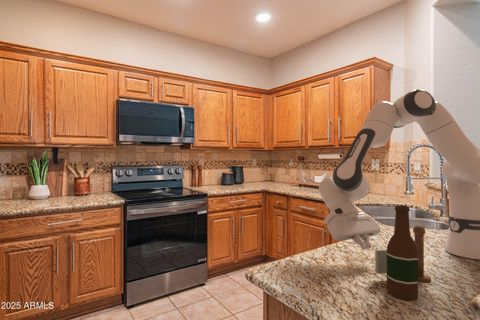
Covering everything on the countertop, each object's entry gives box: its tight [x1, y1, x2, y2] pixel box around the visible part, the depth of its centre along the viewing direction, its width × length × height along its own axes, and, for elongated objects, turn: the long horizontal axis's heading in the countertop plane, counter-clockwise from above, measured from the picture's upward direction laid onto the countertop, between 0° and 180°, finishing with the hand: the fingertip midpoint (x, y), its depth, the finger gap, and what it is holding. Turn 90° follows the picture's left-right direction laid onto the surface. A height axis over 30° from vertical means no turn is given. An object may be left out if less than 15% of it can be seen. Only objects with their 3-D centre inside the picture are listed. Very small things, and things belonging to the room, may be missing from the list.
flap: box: [374, 248, 387, 274], centre depth 84 cm, size 12×1×7 cm, turn 95°
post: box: [412, 225, 432, 283], centre depth 84 cm, size 6×6×16 cm
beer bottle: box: [386, 204, 419, 302], centre depth 74 cm, size 8×8×24 cm
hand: (367, 248), depth 92 cm, fingers closed
